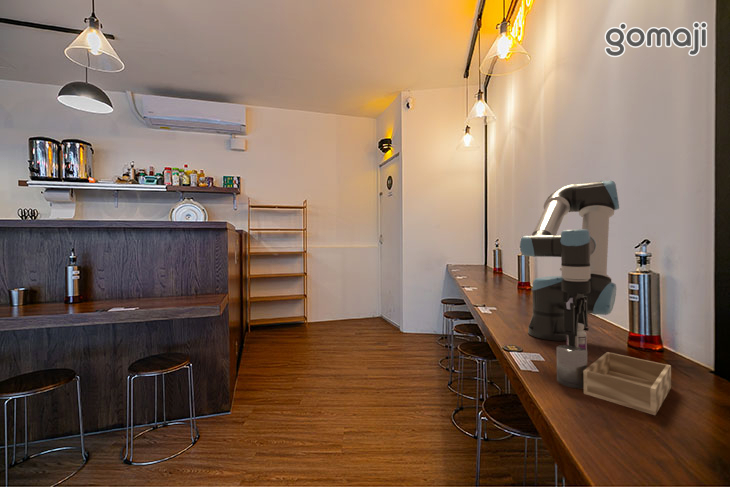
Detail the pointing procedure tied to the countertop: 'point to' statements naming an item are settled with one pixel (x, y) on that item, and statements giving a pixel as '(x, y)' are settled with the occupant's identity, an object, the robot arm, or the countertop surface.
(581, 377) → the tin can
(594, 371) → the caddy
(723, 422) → the countertop surface
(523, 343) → the countertop surface
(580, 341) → the pill bottle
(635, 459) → the countertop surface
